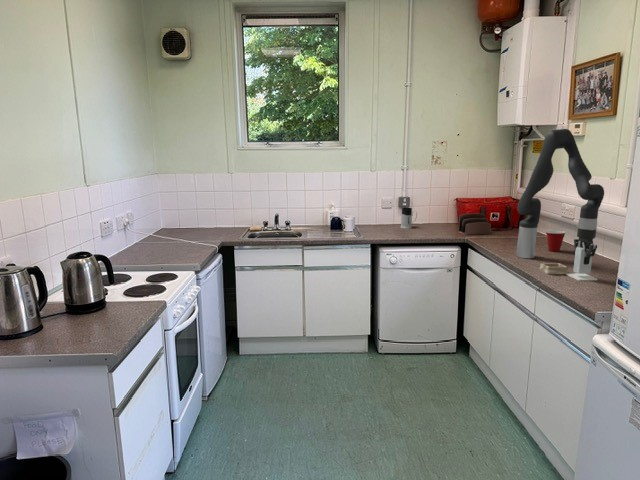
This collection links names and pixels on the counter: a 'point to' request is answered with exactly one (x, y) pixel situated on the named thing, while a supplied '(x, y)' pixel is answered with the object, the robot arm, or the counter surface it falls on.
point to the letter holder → (473, 224)
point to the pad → (581, 277)
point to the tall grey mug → (407, 217)
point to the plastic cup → (555, 240)
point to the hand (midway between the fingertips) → (582, 262)
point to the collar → (553, 268)
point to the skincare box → (581, 262)
